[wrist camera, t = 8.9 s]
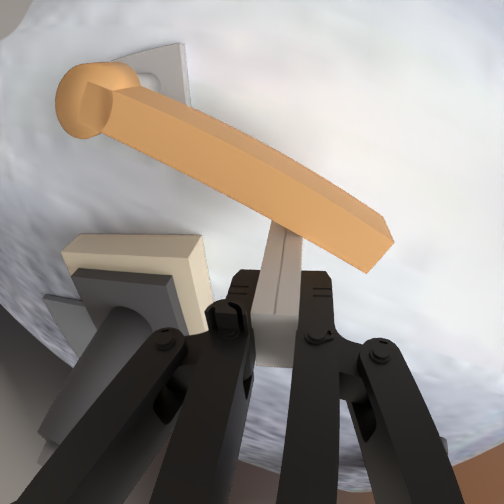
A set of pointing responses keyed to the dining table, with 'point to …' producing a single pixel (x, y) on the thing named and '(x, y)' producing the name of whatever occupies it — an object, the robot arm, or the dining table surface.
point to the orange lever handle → (220, 160)
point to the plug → (109, 339)
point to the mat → (72, 321)
